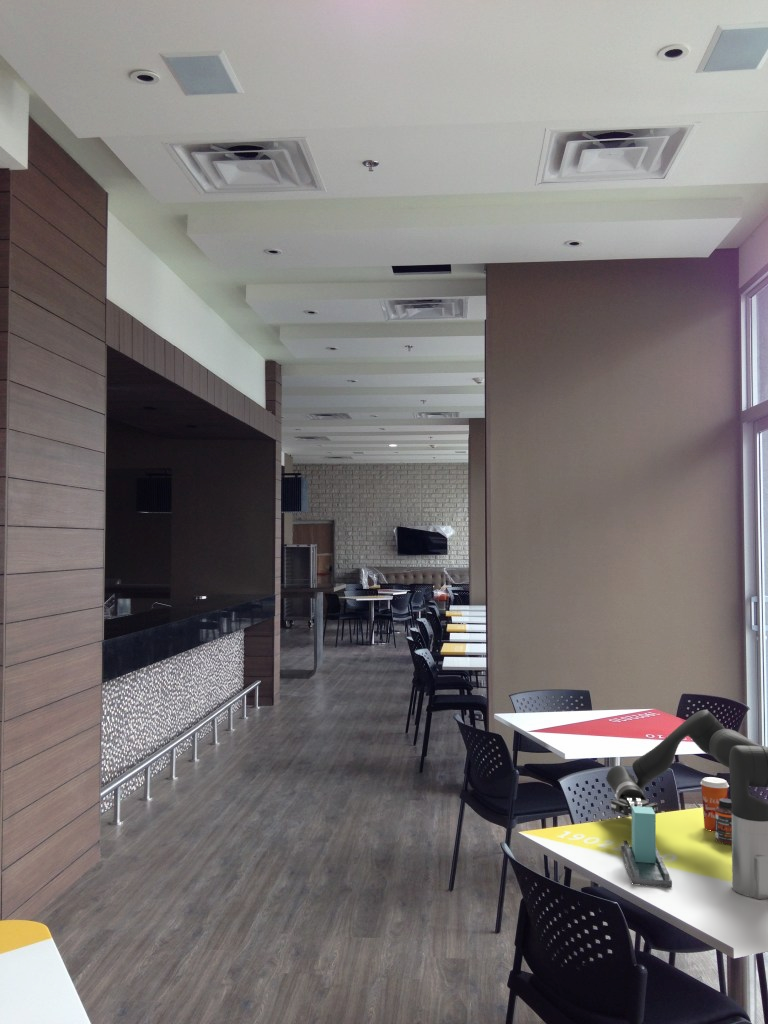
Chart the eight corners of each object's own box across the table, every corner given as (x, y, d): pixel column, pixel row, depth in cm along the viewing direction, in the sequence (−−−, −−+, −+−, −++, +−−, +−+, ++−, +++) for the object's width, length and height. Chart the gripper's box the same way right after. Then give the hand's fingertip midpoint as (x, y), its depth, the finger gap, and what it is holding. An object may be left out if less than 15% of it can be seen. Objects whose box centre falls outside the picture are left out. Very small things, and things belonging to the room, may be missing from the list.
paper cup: (697, 829, 237) (697, 780, 238) (704, 823, 243) (704, 775, 244) (726, 835, 232) (725, 785, 233) (732, 828, 239) (731, 779, 240)
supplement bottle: (715, 843, 225) (715, 801, 226) (714, 837, 231) (714, 796, 231) (739, 846, 223) (738, 804, 224) (738, 840, 229) (737, 798, 229)
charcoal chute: (620, 851, 217) (620, 840, 217) (656, 854, 216) (656, 842, 216) (632, 884, 195) (632, 871, 195) (671, 887, 193) (671, 874, 193)
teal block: (631, 853, 211) (631, 806, 212) (652, 855, 210) (651, 807, 211) (634, 861, 205) (634, 812, 206) (655, 863, 204) (655, 814, 205)
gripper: (654, 813, 233) (664, 832, 216) (606, 809, 235) (612, 828, 218) (654, 786, 233) (664, 803, 216) (606, 783, 236) (612, 800, 219)
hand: (638, 816), depth 217 cm, fingers closed
